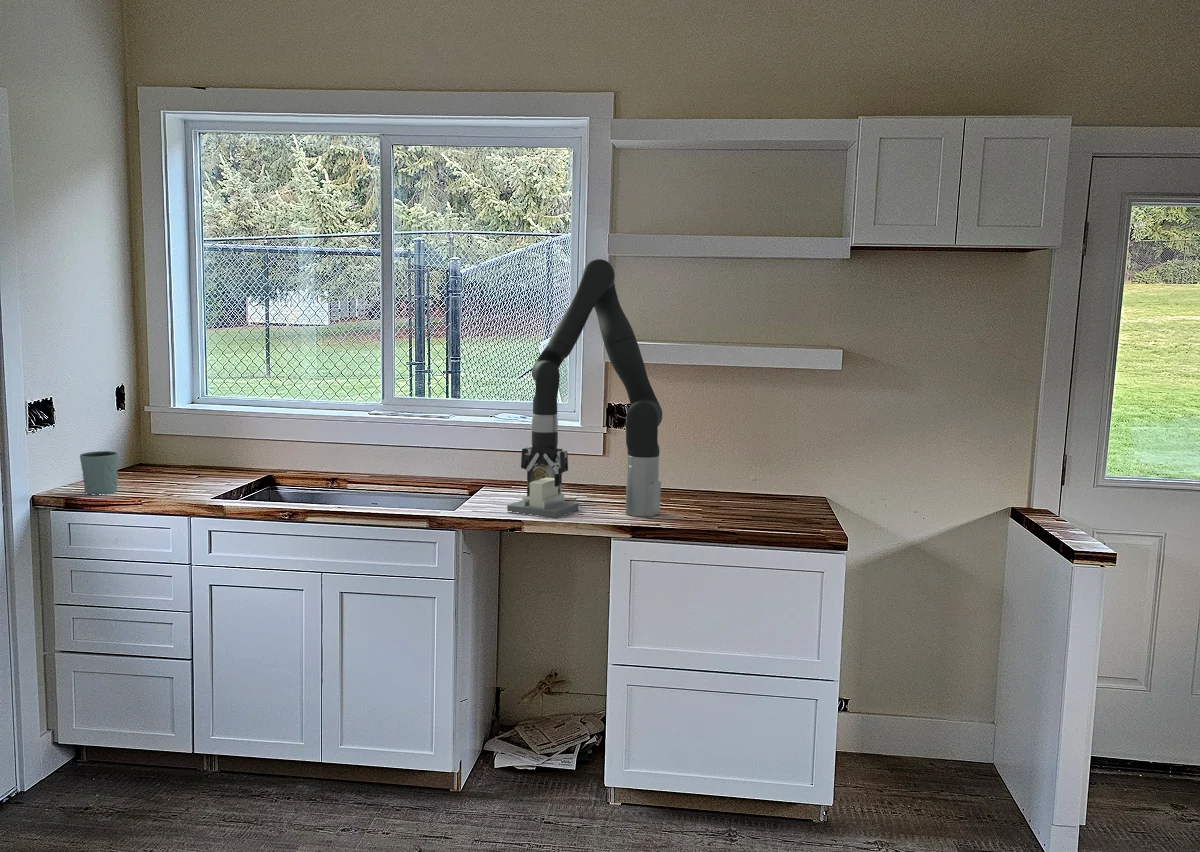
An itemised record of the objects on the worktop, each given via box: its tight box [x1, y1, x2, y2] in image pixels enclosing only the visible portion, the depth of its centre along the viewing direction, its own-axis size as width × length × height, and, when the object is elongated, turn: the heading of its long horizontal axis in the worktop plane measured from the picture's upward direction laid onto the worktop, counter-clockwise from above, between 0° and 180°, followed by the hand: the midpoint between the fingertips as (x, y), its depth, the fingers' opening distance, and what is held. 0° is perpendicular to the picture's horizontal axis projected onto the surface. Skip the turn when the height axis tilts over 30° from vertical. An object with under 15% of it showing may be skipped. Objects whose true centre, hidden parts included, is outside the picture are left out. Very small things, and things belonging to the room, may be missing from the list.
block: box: [529, 477, 558, 508], centre depth 280 cm, size 4×10×7 cm, turn 155°
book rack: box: [506, 493, 580, 519], centre depth 280 cm, size 16×14×4 cm
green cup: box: [79, 450, 119, 496], centre depth 289 cm, size 10×10×12 cm
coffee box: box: [526, 446, 564, 497], centre depth 296 cm, size 9×6×16 cm
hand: (544, 485), depth 279 cm, fingers open, 8 cm apart
